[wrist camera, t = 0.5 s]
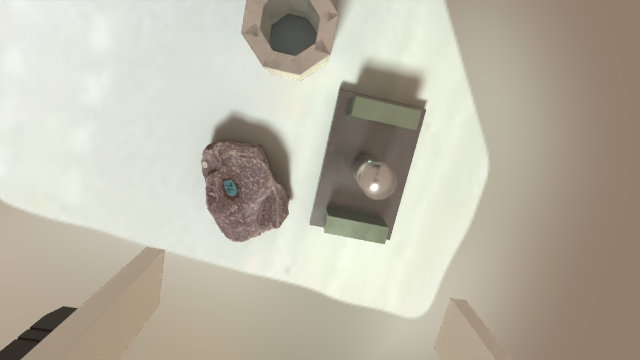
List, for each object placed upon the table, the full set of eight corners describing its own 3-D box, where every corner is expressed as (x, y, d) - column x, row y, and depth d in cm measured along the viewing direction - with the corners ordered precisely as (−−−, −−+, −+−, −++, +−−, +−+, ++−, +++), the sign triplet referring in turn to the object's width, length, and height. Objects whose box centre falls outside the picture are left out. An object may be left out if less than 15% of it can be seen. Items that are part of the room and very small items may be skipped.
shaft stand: (338, 89, 36) (347, 85, 28) (423, 109, 37) (454, 109, 29) (309, 221, 39) (310, 249, 32) (387, 236, 40) (407, 267, 32)
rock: (258, 123, 37) (251, 126, 32) (297, 211, 39) (296, 224, 35) (194, 150, 37) (178, 156, 33) (237, 235, 40) (228, 251, 35)
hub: (263, -9, 34) (252, -38, 27) (337, 10, 34) (344, -15, 28) (250, 69, 35) (236, 60, 28) (321, 85, 36) (324, 80, 29)
